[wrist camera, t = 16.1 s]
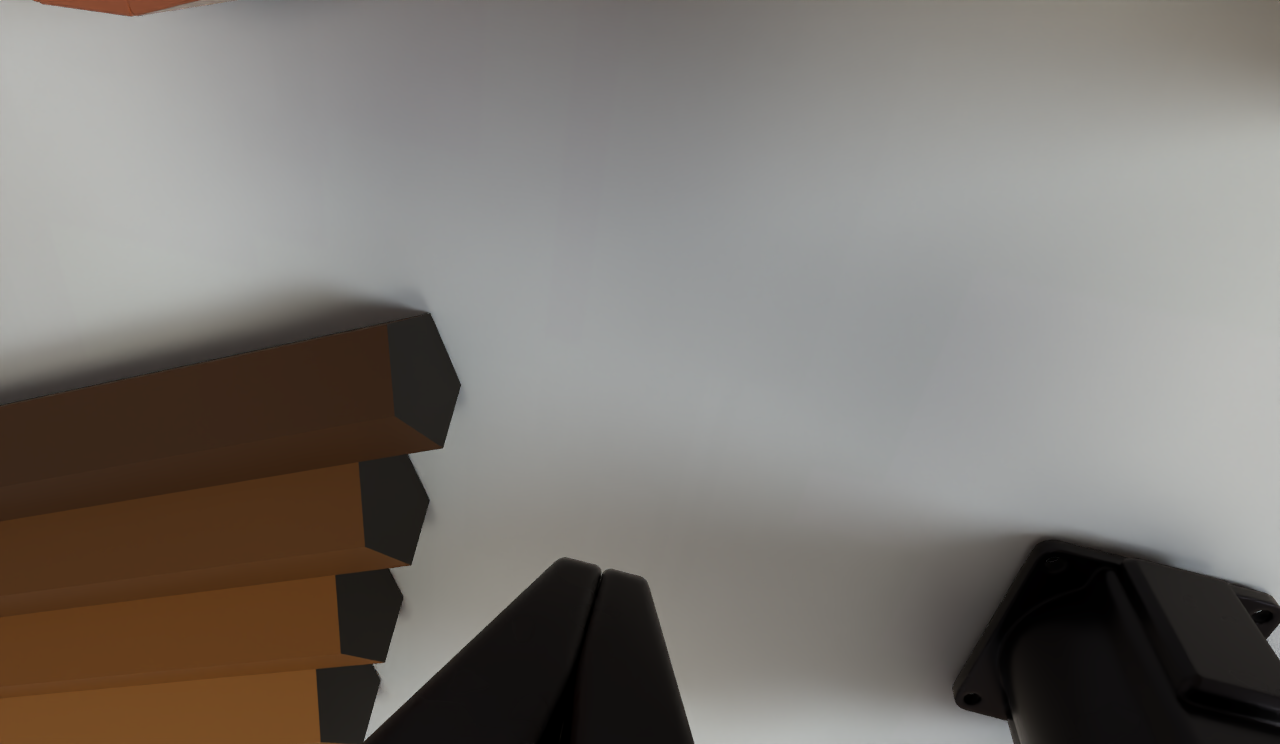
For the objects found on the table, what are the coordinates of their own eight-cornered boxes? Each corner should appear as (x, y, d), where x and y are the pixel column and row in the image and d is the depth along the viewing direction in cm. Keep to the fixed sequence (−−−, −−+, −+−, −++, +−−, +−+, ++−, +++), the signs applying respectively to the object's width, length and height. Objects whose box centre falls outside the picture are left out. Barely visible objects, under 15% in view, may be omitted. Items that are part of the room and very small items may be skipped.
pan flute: (420, 289, 21) (-236, 435, 28) (362, 349, 19) (-356, 497, 25) (668, 871, 32) (152, 880, 39) (656, 967, 29) (100, 959, 36)
